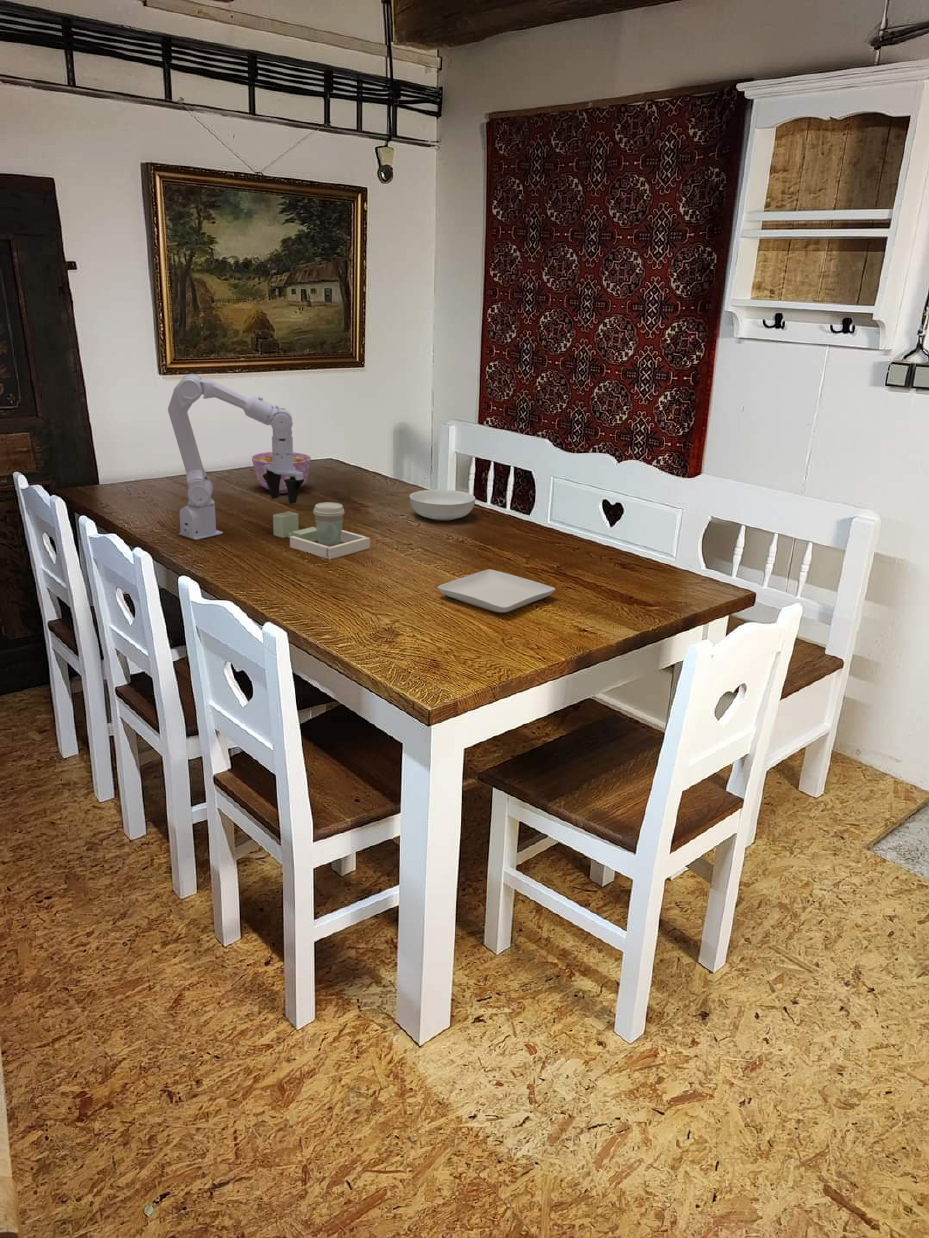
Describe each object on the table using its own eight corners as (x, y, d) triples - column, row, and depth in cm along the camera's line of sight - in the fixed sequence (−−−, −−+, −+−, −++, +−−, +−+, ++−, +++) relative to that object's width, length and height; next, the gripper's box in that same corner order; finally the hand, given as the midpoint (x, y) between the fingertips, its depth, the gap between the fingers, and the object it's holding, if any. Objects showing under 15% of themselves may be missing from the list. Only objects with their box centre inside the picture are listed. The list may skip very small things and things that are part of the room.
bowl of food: (250, 484, 319) (248, 452, 315) (307, 483, 325) (306, 451, 320) (255, 498, 301) (254, 463, 297) (315, 496, 307) (315, 462, 303)
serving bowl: (477, 511, 298) (478, 491, 296) (471, 528, 279) (472, 506, 276) (414, 507, 300) (414, 486, 297) (404, 523, 280) (404, 501, 278)
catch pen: (329, 559, 242) (329, 548, 241) (290, 547, 251) (289, 536, 250) (369, 548, 254) (370, 537, 253) (330, 536, 263) (330, 526, 262)
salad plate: (488, 579, 234) (489, 567, 233) (556, 600, 222) (557, 586, 220) (434, 599, 218) (434, 585, 217) (504, 622, 206) (505, 608, 205)
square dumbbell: (300, 544, 254) (300, 524, 252) (270, 535, 261) (270, 515, 259) (321, 539, 260) (321, 519, 258) (292, 530, 267) (291, 510, 265)
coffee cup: (307, 548, 251) (306, 506, 247) (325, 541, 258) (325, 500, 254) (333, 553, 248) (332, 511, 243) (350, 546, 255) (350, 504, 250)
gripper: (310, 455, 254) (311, 502, 259) (276, 447, 262) (278, 493, 267) (291, 458, 249) (292, 507, 254) (257, 450, 257) (259, 497, 262)
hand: (283, 500), depth 260 cm, fingers open, 7 cm apart
